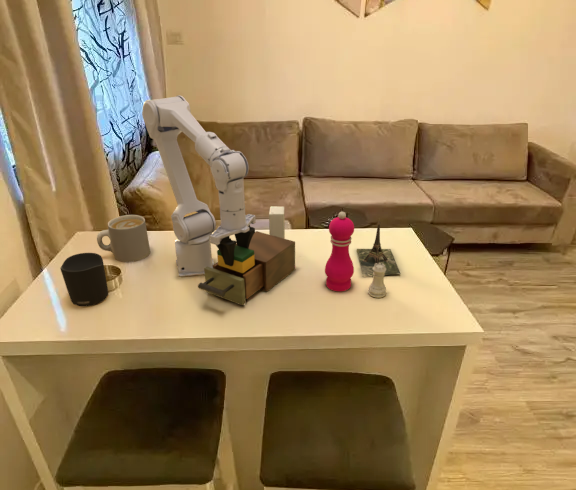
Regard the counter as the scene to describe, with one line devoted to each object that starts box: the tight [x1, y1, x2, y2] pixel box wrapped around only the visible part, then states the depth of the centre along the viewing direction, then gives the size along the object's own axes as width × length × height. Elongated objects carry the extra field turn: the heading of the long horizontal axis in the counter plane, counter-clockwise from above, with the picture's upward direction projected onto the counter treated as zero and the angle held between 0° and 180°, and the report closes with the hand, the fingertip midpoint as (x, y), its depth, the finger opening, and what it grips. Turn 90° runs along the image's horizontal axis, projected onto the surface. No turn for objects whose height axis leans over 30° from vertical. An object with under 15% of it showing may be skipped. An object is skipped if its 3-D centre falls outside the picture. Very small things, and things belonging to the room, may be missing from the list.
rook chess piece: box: [367, 263, 387, 299], centre depth 117 cm, size 4×4×8 cm
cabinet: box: [236, 230, 296, 293], centre depth 125 cm, size 13×12×8 cm
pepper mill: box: [324, 211, 355, 292], centre depth 117 cm, size 7×7×20 cm
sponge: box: [216, 245, 255, 273], centre depth 115 cm, size 5×8×4 cm, turn 57°
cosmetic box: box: [268, 205, 286, 239], centre depth 138 cm, size 6×4×12 cm
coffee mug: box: [96, 214, 151, 263], centre depth 135 cm, size 13×10×10 cm
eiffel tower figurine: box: [356, 217, 401, 278], centre depth 129 cm, size 15×10×13 cm
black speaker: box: [59, 252, 109, 308], centre depth 115 cm, size 9×9×10 cm
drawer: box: [197, 261, 264, 306], centre depth 117 cm, size 17×11×7 cm, turn 147°
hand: (236, 260), depth 116 cm, fingers closed on sponge, 5 cm apart
